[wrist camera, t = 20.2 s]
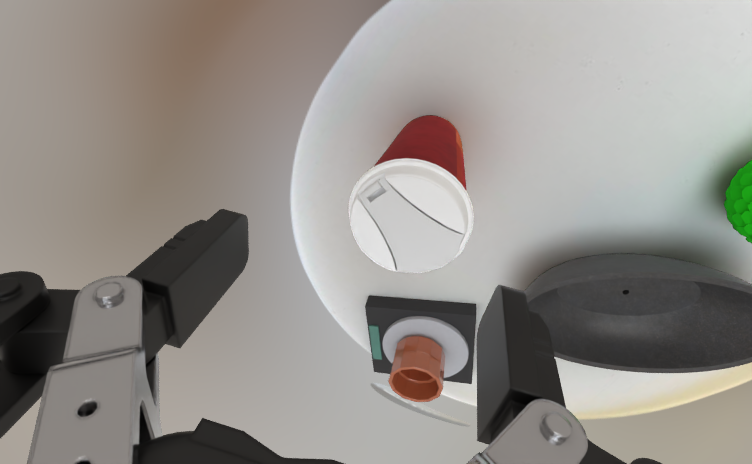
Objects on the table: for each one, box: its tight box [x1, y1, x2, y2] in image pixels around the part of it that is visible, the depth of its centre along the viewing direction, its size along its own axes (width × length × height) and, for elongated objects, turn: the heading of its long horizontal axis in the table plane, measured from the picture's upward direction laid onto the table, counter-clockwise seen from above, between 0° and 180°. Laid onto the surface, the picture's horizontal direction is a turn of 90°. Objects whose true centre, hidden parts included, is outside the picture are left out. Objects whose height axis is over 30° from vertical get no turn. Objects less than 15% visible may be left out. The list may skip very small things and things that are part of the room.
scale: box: [365, 296, 476, 384], centre depth 49 cm, size 13×12×3 cm
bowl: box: [524, 254, 752, 373], centre depth 37 cm, size 12×22×6 cm, turn 96°
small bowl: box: [389, 336, 445, 402], centre depth 46 cm, size 6×6×5 cm
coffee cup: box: [348, 115, 474, 273], centre depth 30 cm, size 8×8×15 cm
